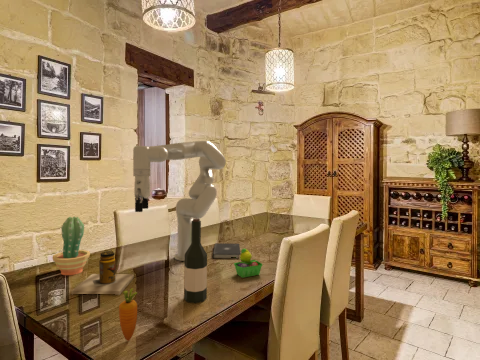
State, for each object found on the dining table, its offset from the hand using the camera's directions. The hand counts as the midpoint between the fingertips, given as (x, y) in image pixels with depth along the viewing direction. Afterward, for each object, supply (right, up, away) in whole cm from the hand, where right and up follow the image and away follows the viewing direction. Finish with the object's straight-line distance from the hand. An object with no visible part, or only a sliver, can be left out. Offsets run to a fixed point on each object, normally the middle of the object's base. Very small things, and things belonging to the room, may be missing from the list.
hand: (141, 210), depth 145 cm
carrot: (+14, -32, -56) cm, 66 cm away
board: (-10, -29, -17) cm, 35 cm away
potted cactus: (-31, -28, -2) cm, 42 cm away
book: (+38, -28, +33) cm, 57 cm away
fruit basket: (+49, -30, -1) cm, 57 cm away
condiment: (-10, -28, -17) cm, 34 cm away
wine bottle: (+29, -31, -27) cm, 50 cm away
